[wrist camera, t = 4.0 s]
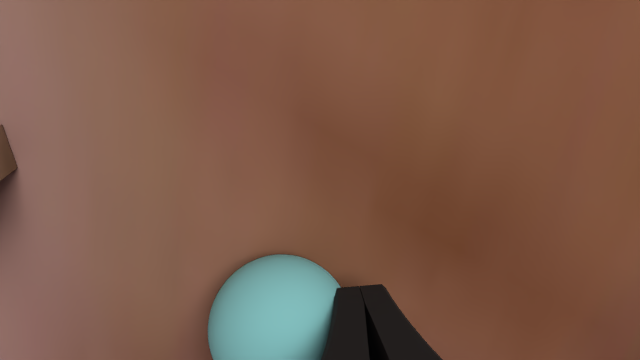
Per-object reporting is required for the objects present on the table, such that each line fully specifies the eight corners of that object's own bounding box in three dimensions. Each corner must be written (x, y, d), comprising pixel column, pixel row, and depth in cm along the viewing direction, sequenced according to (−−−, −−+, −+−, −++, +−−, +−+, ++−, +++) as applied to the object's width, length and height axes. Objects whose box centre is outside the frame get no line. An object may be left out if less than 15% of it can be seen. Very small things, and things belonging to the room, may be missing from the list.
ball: (376, 341, 15) (334, 455, 12) (264, 326, 17) (199, 422, 13) (360, 231, 14) (307, 326, 10) (239, 225, 15) (158, 306, 12)
